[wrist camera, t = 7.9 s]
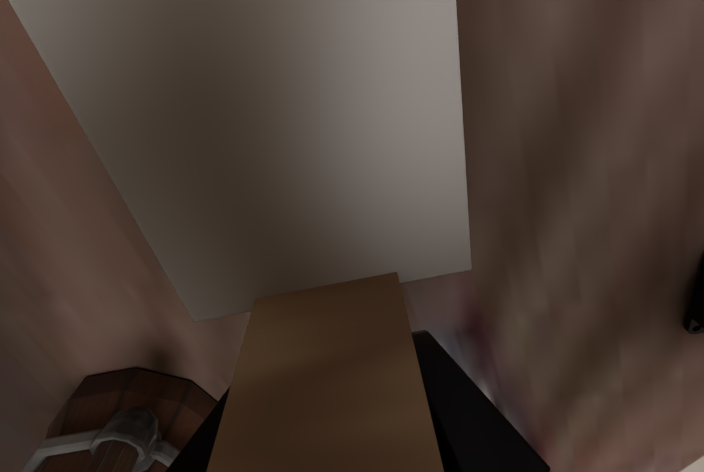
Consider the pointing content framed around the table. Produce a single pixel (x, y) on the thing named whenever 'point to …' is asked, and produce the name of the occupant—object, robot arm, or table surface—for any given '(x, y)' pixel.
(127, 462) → the mug
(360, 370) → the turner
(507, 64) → the table surface
